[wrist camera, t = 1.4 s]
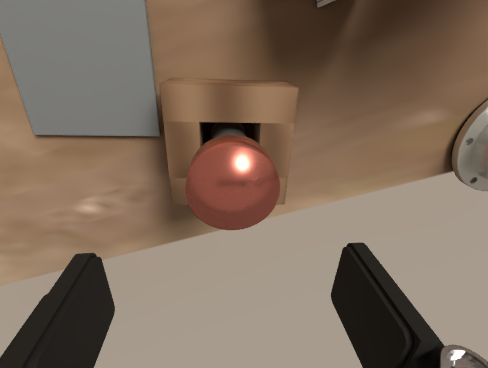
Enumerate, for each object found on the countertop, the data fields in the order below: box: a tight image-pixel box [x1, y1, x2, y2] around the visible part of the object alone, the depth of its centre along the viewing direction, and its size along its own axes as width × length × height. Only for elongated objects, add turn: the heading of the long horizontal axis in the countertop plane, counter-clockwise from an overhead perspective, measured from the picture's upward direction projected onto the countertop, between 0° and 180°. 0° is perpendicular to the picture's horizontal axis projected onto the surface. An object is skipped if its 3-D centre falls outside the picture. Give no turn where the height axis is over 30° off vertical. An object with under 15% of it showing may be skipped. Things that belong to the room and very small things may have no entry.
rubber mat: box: [0, 0, 161, 136], centre depth 23 cm, size 12×12×1 cm
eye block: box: [160, 78, 299, 206], centre depth 25 cm, size 11×11×5 cm
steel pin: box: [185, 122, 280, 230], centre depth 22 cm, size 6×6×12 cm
